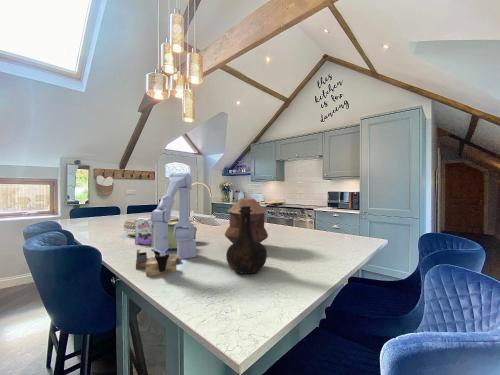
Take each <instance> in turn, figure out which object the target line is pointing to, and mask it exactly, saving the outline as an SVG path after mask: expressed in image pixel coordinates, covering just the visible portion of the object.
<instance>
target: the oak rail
mask: <svg viewBox="0 0 500 375" xmlns="http://www.w3.org/2000/svg"><path fill="white" fill-rule="evenodd" d="M175 272H177V263H176V259H175V258H174V259H168V260H167V263H166V268H165V271H164V272H159V268H158V263H157V261H151V262H146V268H145V276H146V277H150V276H156V275H162V274H169V273H175Z"/></svg>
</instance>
